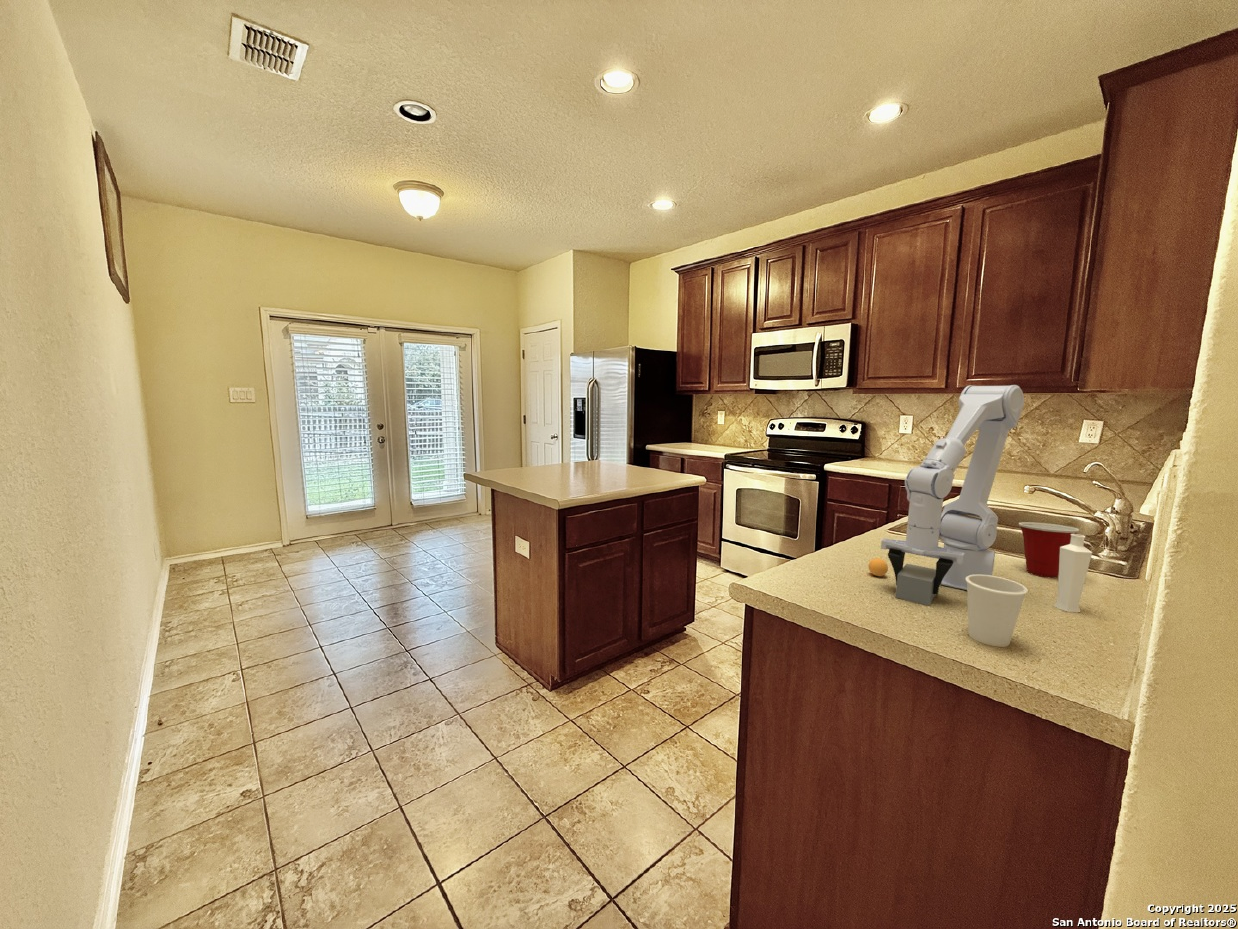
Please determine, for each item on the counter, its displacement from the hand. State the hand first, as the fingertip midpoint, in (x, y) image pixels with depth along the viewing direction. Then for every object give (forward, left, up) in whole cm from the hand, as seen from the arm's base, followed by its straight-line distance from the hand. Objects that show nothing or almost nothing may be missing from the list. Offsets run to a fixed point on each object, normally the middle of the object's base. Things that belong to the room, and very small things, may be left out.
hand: (916, 588), depth 102 cm
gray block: (0, 0, -1) cm, 1 cm away
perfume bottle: (-24, -13, -2) cm, 27 cm away
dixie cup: (-13, +13, -2) cm, 18 cm away
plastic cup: (-20, -36, -2) cm, 41 cm away
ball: (+9, -7, +1) cm, 11 cm away
